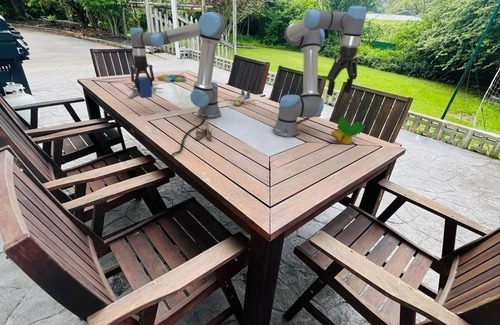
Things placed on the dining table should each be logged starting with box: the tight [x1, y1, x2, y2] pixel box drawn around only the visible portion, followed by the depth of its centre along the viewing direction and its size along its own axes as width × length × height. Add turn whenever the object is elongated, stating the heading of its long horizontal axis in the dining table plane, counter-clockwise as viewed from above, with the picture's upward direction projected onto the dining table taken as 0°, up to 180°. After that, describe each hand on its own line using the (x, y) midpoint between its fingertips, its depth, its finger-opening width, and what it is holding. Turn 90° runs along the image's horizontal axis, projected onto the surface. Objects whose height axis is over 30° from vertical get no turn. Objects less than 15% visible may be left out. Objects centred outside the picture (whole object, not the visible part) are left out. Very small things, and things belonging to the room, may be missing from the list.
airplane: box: [127, 77, 164, 99], centre depth 224 cm, size 38×31×10 cm
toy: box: [223, 89, 257, 106], centre depth 219 cm, size 28×7×30 cm
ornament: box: [330, 114, 367, 145], centre depth 158 cm, size 21×8×15 cm, turn 105°
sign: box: [156, 74, 187, 83], centre depth 278 cm, size 26×2×30 cm
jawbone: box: [195, 119, 213, 141], centre depth 151 cm, size 9×15×10 cm
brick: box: [137, 76, 153, 99], centre depth 173 cm, size 7×7×12 cm
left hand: (144, 92), depth 175 cm, fingers closed on brick, 7 cm apart
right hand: (338, 93), depth 127 cm, fingers open, 13 cm apart
